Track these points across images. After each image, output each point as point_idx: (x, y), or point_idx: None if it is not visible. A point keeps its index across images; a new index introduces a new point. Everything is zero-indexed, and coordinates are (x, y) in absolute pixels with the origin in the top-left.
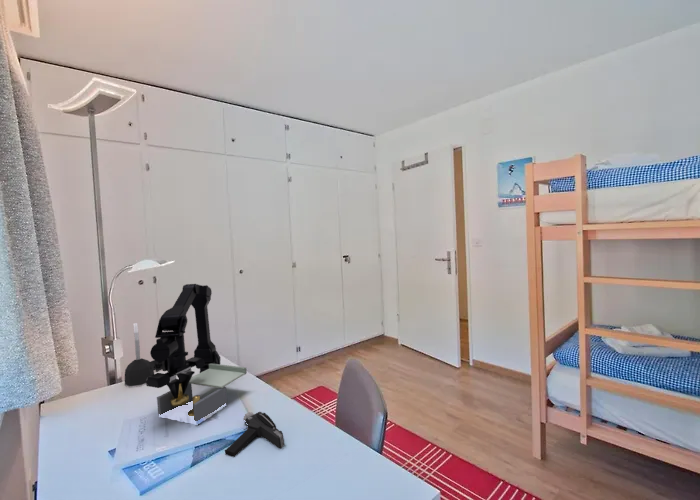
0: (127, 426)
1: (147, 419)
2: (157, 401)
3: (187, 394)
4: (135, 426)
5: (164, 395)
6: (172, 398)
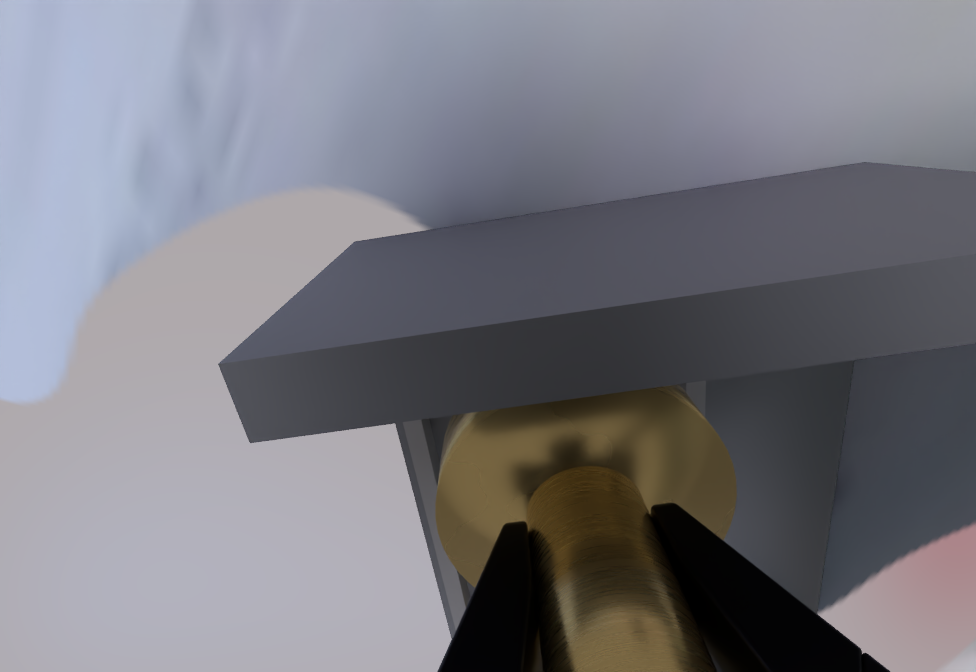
0: (7, 9)
1: (266, 93)
2: (265, 330)
3: (726, 529)
4: (94, 130)
5: (385, 424)
6: (514, 437)
